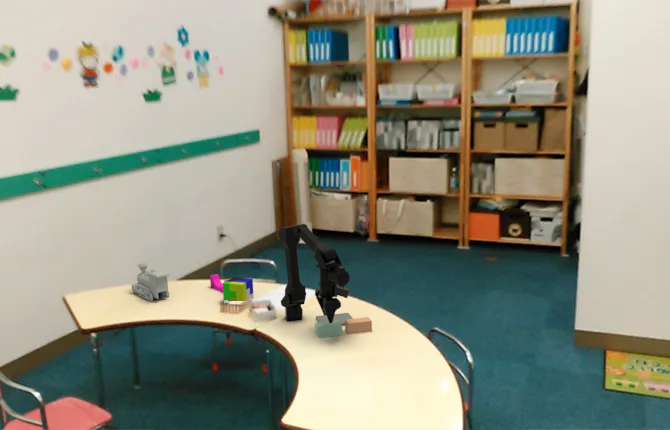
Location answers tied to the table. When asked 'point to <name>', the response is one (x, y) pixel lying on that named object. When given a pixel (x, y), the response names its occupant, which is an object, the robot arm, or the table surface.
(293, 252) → the robot arm
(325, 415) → the table surface
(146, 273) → the toy train
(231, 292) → the puzzle toy
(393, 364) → the table surface
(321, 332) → the teal brick
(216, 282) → the toy block
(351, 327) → the terracotta brick
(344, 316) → the baseplate
